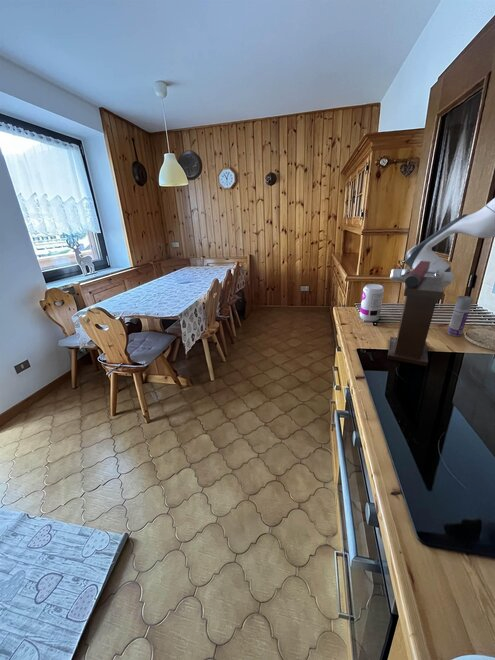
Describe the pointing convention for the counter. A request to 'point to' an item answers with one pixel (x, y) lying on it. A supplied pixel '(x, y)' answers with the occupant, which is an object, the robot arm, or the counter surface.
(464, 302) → the container
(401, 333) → the shelf stand
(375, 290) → the supplement can
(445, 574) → the counter surface
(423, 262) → the maroon rod
